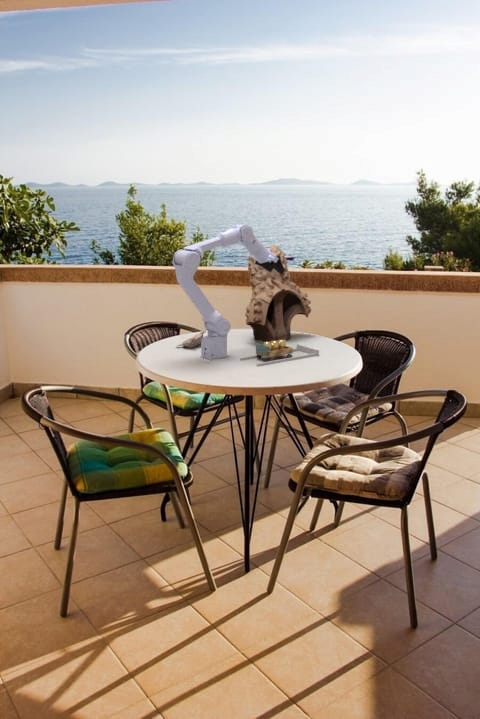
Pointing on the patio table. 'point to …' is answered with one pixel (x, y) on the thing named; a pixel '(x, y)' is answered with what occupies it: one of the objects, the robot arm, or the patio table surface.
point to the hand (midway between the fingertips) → (277, 271)
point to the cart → (272, 352)
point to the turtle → (193, 340)
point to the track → (305, 349)
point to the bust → (273, 300)
